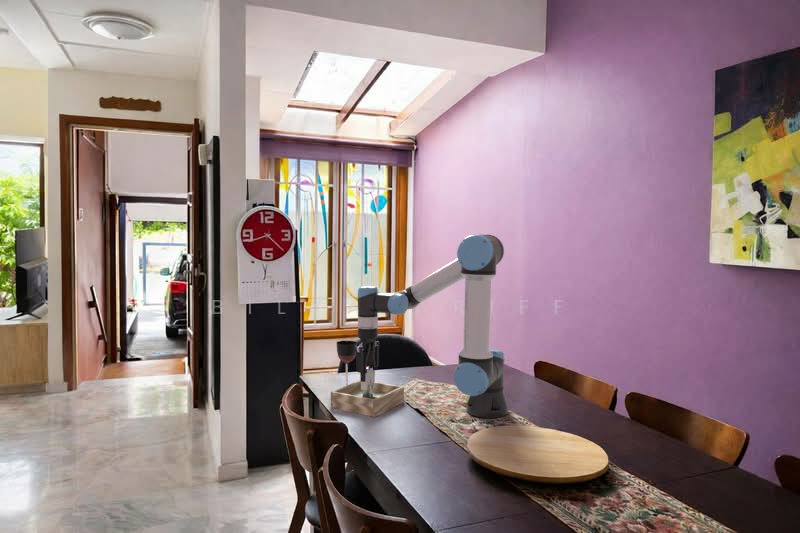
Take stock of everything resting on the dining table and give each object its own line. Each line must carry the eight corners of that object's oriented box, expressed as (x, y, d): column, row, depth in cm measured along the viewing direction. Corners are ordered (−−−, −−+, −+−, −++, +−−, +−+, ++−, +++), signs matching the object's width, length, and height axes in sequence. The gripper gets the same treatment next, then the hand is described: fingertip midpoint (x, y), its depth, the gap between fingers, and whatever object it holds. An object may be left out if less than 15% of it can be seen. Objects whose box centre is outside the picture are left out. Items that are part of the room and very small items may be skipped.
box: (403, 402, 204) (403, 386, 204) (375, 416, 187) (375, 400, 187) (361, 394, 215) (361, 379, 214) (330, 407, 198) (330, 391, 197)
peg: (374, 398, 202) (374, 367, 201) (369, 401, 198) (369, 369, 198) (366, 396, 204) (366, 366, 203) (360, 399, 200) (360, 368, 200)
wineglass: (348, 393, 215) (347, 345, 214) (332, 390, 221) (332, 342, 220) (360, 389, 222) (360, 342, 221) (345, 385, 227) (345, 339, 226)
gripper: (372, 323, 209) (372, 381, 210) (346, 329, 194) (346, 392, 195) (388, 325, 205) (388, 384, 206) (362, 331, 190) (363, 395, 192)
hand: (367, 388), depth 201 cm, fingers closed on peg, 4 cm apart
